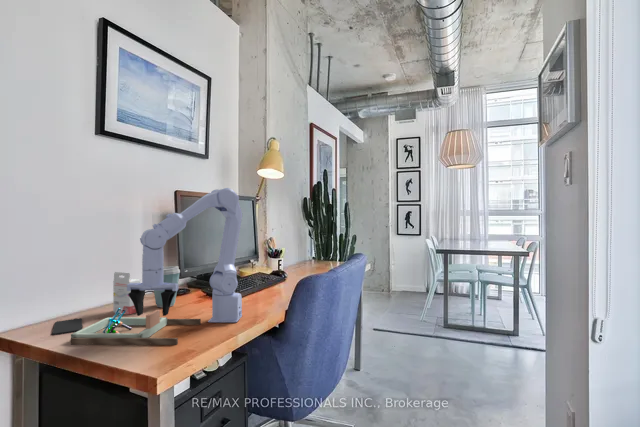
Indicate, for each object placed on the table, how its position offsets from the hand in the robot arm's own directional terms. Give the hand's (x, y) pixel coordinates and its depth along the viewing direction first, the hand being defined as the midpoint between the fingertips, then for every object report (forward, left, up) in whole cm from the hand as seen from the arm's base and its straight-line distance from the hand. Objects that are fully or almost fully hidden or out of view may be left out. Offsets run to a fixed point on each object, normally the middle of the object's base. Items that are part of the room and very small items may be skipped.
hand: (152, 314), depth 103 cm
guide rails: (+3, 0, -6) cm, 6 cm away
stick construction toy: (+11, 0, -6) cm, 12 cm away
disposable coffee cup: (+11, -32, -6) cm, 34 cm away
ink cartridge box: (+21, -23, -6) cm, 32 cm away
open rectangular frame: (+9, 0, -5) cm, 10 cm away
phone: (+30, -6, -6) cm, 31 cm away
